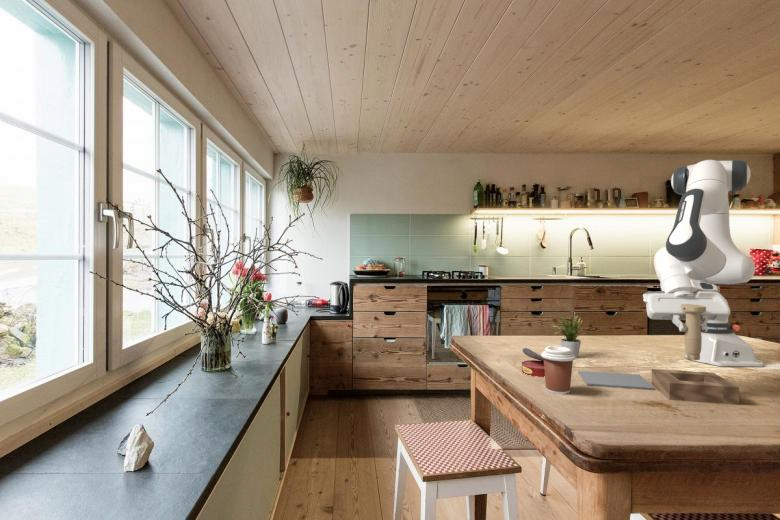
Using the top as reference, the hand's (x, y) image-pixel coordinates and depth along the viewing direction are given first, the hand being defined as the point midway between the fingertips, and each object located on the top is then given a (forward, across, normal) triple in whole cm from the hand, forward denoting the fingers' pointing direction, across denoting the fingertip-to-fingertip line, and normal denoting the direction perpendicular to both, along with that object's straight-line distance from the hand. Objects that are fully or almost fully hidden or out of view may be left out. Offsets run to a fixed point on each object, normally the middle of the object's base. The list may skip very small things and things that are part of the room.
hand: (694, 330), depth 121 cm
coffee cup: (+16, -36, +8) cm, 41 cm away
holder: (+12, 0, +13) cm, 18 cm away
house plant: (-15, -27, +40) cm, 51 cm away
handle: (+5, 0, +6) cm, 8 cm away
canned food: (+4, -40, +21) cm, 46 cm away
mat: (+7, -18, +18) cm, 27 cm away
